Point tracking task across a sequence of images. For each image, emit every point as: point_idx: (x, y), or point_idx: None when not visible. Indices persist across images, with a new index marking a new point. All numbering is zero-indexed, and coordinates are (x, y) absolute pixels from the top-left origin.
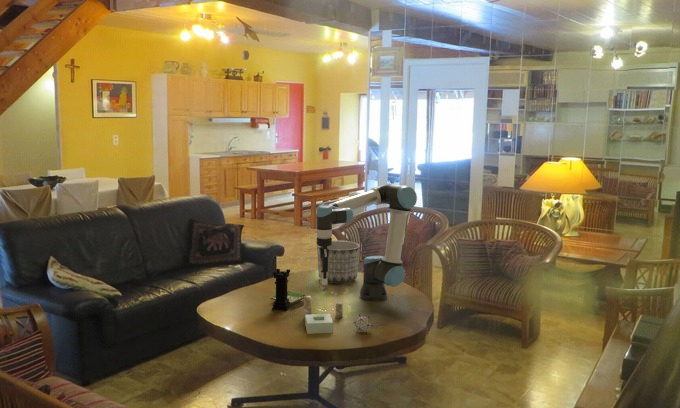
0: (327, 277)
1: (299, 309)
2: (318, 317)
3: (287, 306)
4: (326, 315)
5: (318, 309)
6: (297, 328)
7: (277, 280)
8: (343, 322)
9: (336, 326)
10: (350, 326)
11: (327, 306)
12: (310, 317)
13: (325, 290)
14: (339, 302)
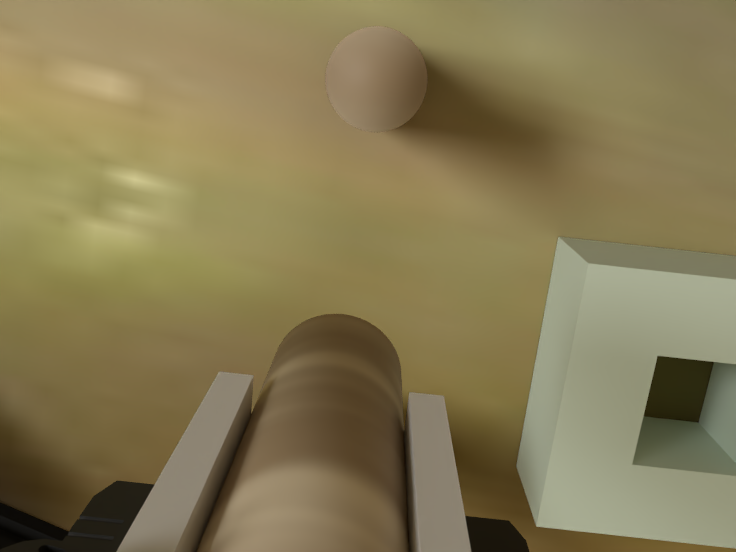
0: (346, 444)
1: (80, 433)
2: (640, 405)
3: (22, 540)
4: (633, 314)
5: (101, 249)
6: (591, 543)
7: None
8: (565, 77)
9: (658, 185)
10: (710, 31)
11: (9, 126)
12: (640, 493)
13: (399, 367)
14: (330, 64)
